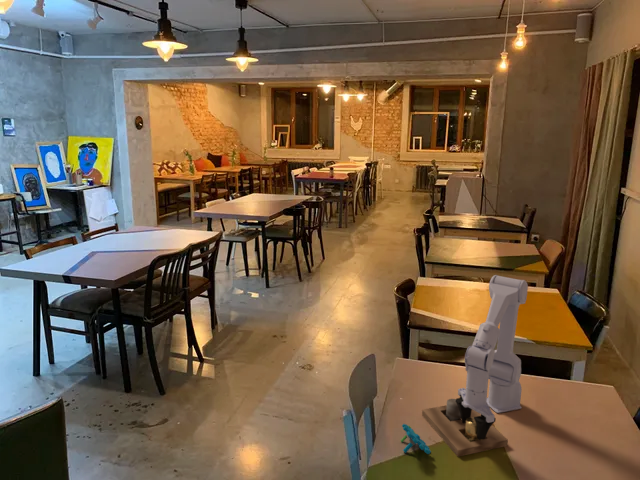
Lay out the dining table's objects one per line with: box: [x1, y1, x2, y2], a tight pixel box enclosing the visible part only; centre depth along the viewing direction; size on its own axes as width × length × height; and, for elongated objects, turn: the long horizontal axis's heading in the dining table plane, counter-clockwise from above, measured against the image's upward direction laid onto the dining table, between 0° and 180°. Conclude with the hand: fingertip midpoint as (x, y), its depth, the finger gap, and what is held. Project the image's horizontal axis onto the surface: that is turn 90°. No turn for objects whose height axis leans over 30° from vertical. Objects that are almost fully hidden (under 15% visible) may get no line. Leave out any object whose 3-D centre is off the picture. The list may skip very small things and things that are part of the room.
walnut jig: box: [421, 398, 509, 458], centre depth 139 cm, size 16×20×6 cm
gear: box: [400, 423, 432, 455], centre depth 131 cm, size 11×6×10 cm
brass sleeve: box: [464, 417, 482, 442], centre depth 134 cm, size 4×4×6 cm
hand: (473, 430), depth 134 cm, fingers open, 7 cm apart
